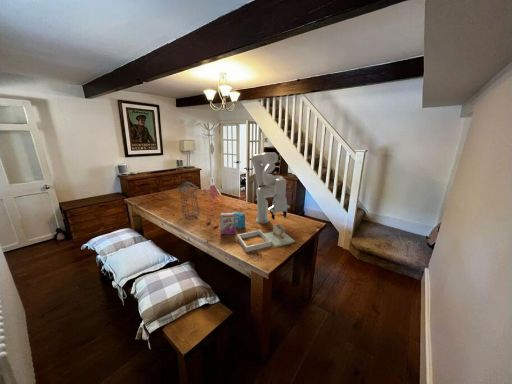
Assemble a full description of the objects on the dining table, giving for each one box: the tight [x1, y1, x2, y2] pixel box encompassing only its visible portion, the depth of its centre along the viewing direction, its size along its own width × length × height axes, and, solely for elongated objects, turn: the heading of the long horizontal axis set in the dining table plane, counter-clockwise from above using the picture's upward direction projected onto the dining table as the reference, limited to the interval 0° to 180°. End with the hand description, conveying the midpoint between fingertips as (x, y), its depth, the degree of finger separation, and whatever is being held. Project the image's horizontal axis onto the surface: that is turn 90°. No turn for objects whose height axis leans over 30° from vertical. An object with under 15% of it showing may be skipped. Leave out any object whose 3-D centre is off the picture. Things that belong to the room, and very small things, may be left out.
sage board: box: [263, 231, 295, 248], centre depth 147 cm, size 18×16×2 cm
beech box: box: [272, 224, 286, 240], centre depth 145 cm, size 5×8×8 cm, turn 24°
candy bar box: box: [219, 212, 236, 235], centre depth 153 cm, size 11×5×16 cm, turn 92°
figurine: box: [203, 184, 222, 228], centre depth 168 cm, size 15×26×35 cm, turn 45°
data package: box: [232, 211, 246, 229], centre depth 165 cm, size 12×4×12 cm, turn 57°
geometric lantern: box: [176, 181, 200, 221], centre depth 179 cm, size 16×16×35 cm
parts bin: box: [236, 229, 272, 253], centre depth 142 cm, size 19×19×4 cm
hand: (278, 217), depth 143 cm, fingers open, 9 cm apart
